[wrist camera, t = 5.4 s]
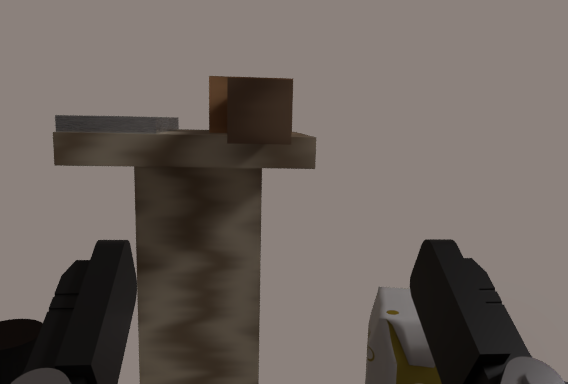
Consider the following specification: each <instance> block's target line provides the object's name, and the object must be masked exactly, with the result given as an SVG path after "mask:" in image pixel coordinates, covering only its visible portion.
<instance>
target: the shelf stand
mask: <svg viewBox="0 0 568 384" xmlns="http://www.w3.org/2000/svg"><path fill="white" fill-rule="evenodd" d="M53 144H54V164H55V165H66V166H134V174H135V211H136V248H137V249H136V251H137V290H138V291H137V292H138V328H139V329H138V331H139V367H140V368H139V369H140V384H258V374H259V373H258V372H259V313H260V251H261V190H262V187H261V185H262V183H261V182H262V168H291V169H292V168H293V169H294V168H295V169H297V168H298V169H315V155H316V137H312V136H308V135H305V134H301V133H297V132H292V134H291V145H281V144H227V133H209V130H182V129H181V130H179V129H178V130H174V131H169V132H164V133H159V134H135V133H85V132H53Z"/></svg>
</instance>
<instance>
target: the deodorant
mask: <svg viewBox="0 0 568 384" xmlns="http://www.w3.org/2000/svg"><path fill="white" fill-rule="evenodd" d="M42 325H43V323H41V322H39V321H36V320H31V319H13V320H5V321H0V384H11V383H12V382H13V381H14V380H15V379H17V378H18V377H20V376H21V374H22V373H23V371H24V369H25V367H26V365H27V363H28V360H29V358H30V355H31V353H32V350H33V348H34V345H35V342H36V340H37V337H38V335H39V332H40V330H41V327H42Z"/></svg>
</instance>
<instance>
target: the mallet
mask: <svg viewBox="0 0 568 384" xmlns="http://www.w3.org/2000/svg"><path fill="white" fill-rule="evenodd" d="M292 100H293V79H286V78H254V77H223V76H209V133H227V144H281V145H291V134H292Z"/></svg>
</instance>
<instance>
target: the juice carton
mask: <svg viewBox="0 0 568 384" xmlns="http://www.w3.org/2000/svg"><path fill="white" fill-rule="evenodd" d="M365 384H442V383H441V380H440V377H439V374H438V371H437V369H436V366H435V363H434V360H433V357H432V354H431V351H430V349H429V346H428V343H427V340H426V337H425V334H424V331H423V328H422V326H421V323H420V320H419V317H418V314H417V311H416V308H415V306H414V303H413V300H412V297H411V292H410V289H406V288H389V287H379V289H378V293H377V296H376V299H375V302H374V305H373V309H372V312H371V316H370V320H369V328H368V345H367V363H366V381H365Z"/></svg>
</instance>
